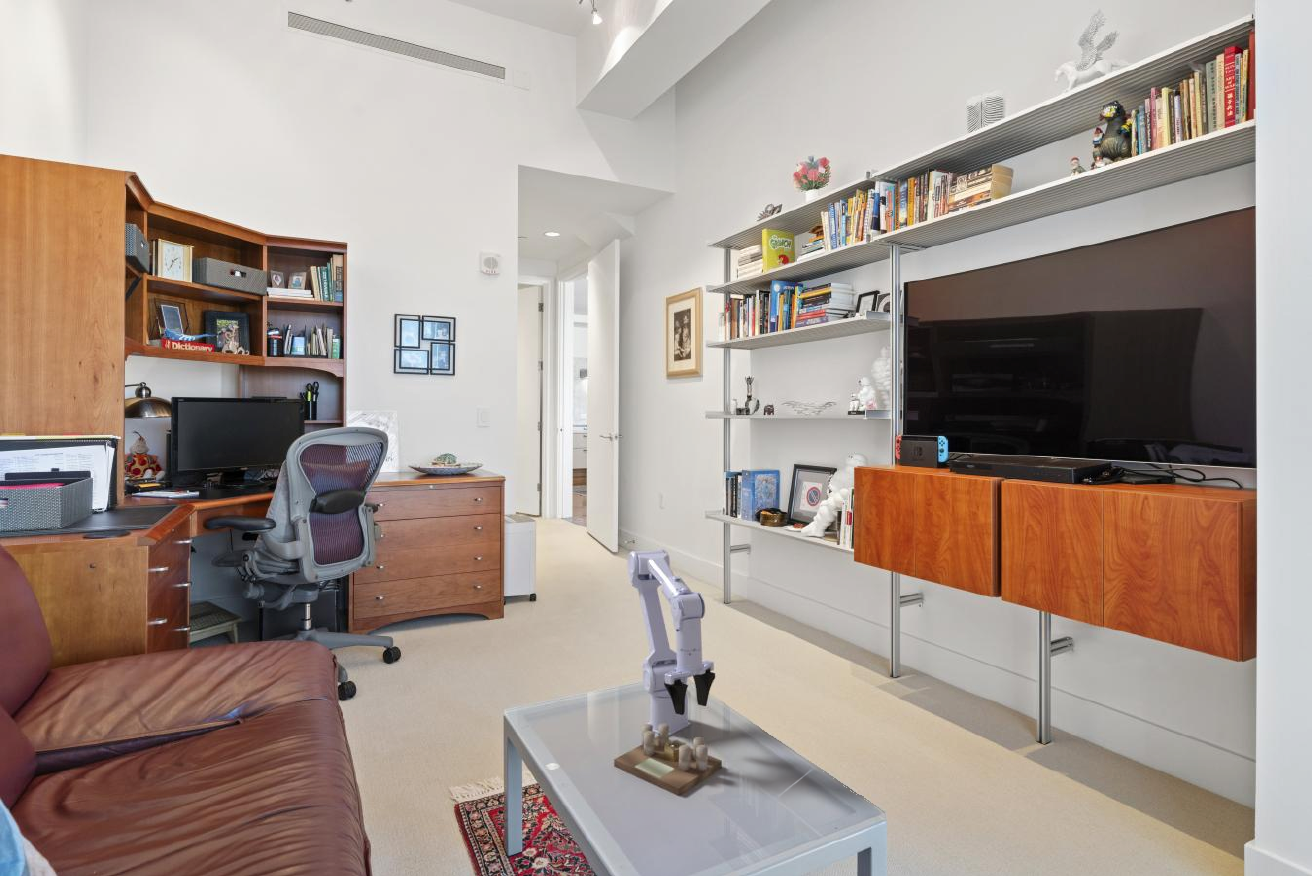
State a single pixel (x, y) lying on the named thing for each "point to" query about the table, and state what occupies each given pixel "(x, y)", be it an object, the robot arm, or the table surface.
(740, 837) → the table surface
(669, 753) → the nut
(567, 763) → the table surface
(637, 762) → the board
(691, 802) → the table surface
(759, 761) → the table surface
